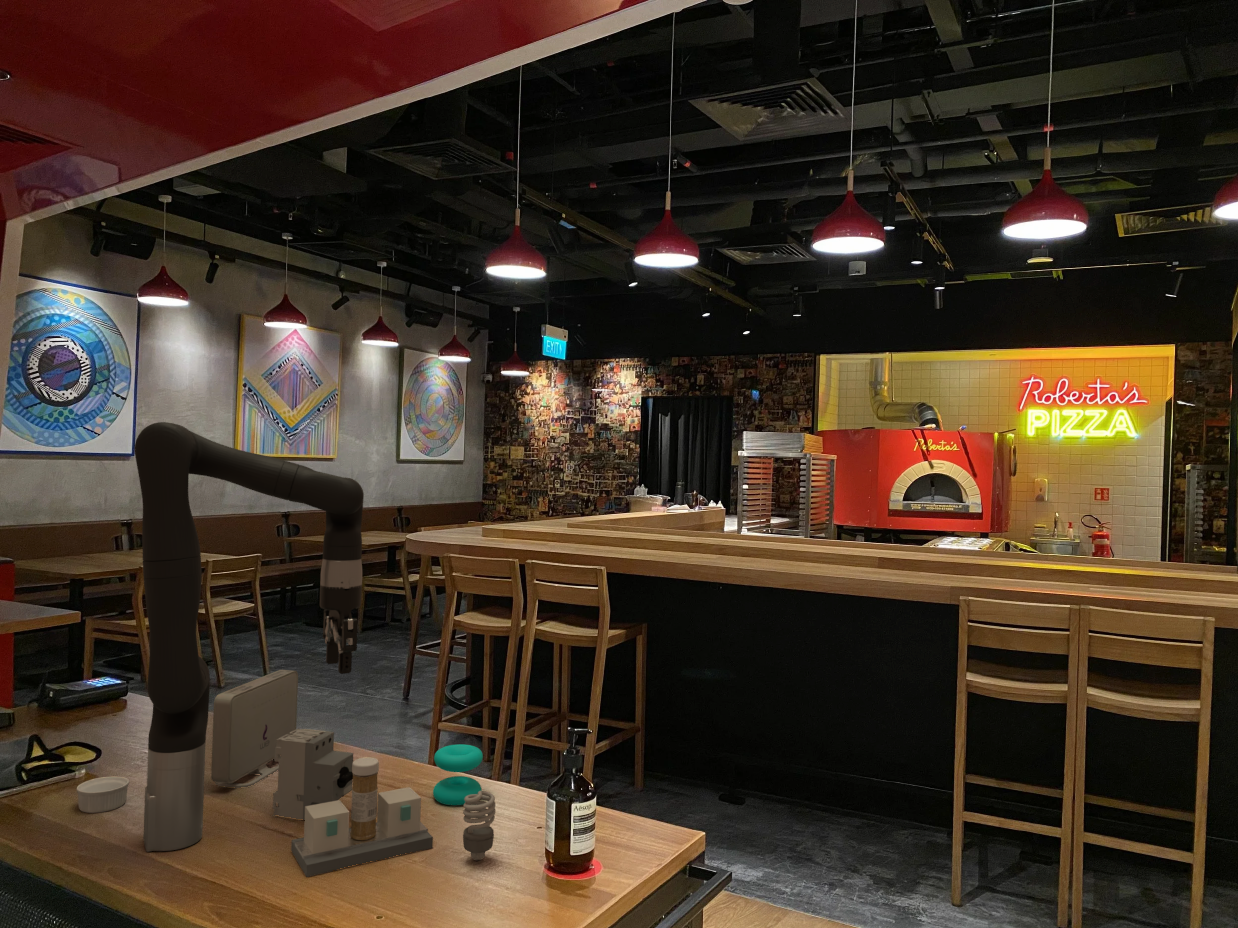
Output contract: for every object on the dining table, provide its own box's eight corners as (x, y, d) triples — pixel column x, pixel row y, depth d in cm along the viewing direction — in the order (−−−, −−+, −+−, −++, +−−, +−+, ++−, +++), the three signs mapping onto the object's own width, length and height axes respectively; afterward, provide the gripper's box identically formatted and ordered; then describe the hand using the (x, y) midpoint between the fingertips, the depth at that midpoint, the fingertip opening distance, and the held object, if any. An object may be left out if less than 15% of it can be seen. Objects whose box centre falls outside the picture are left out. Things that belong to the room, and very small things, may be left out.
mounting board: (306, 876, 141) (306, 864, 141) (291, 850, 150) (291, 839, 150) (432, 847, 153) (432, 836, 153) (411, 825, 163) (411, 815, 163)
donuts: (424, 751, 175) (456, 739, 184) (422, 800, 175) (455, 785, 184) (461, 761, 170) (492, 748, 179) (459, 811, 170) (491, 795, 179)
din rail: (303, 858, 143) (303, 855, 143) (294, 845, 148) (294, 842, 148) (427, 831, 156) (427, 828, 156) (416, 819, 161) (416, 817, 161)
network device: (236, 795, 174) (240, 698, 174) (198, 791, 176) (202, 694, 176) (304, 755, 199) (307, 669, 200) (270, 751, 201) (273, 667, 201)
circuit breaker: (339, 825, 162) (342, 746, 162) (272, 816, 165) (275, 739, 165) (359, 809, 169) (361, 734, 169) (294, 802, 172) (297, 727, 172)
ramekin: (66, 808, 166) (67, 785, 166) (111, 793, 173) (112, 772, 173) (92, 818, 161) (93, 795, 161) (138, 803, 169) (138, 781, 169)
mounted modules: (313, 855, 143) (314, 820, 144) (303, 840, 149) (305, 806, 149) (421, 832, 154) (422, 799, 154) (408, 818, 160) (409, 786, 160)
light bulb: (479, 850, 153) (481, 783, 153) (500, 860, 150) (502, 791, 150) (454, 860, 149) (457, 792, 149) (476, 871, 145) (478, 800, 145)
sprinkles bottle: (367, 828, 155) (370, 754, 155) (381, 835, 152) (384, 760, 152) (344, 835, 152) (347, 760, 152) (358, 843, 149) (361, 766, 149)
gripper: (311, 578, 165) (308, 662, 165) (331, 588, 153) (328, 678, 153) (350, 577, 169) (347, 658, 169) (372, 586, 157) (369, 674, 157)
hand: (338, 668), depth 161 cm, fingers open, 8 cm apart
